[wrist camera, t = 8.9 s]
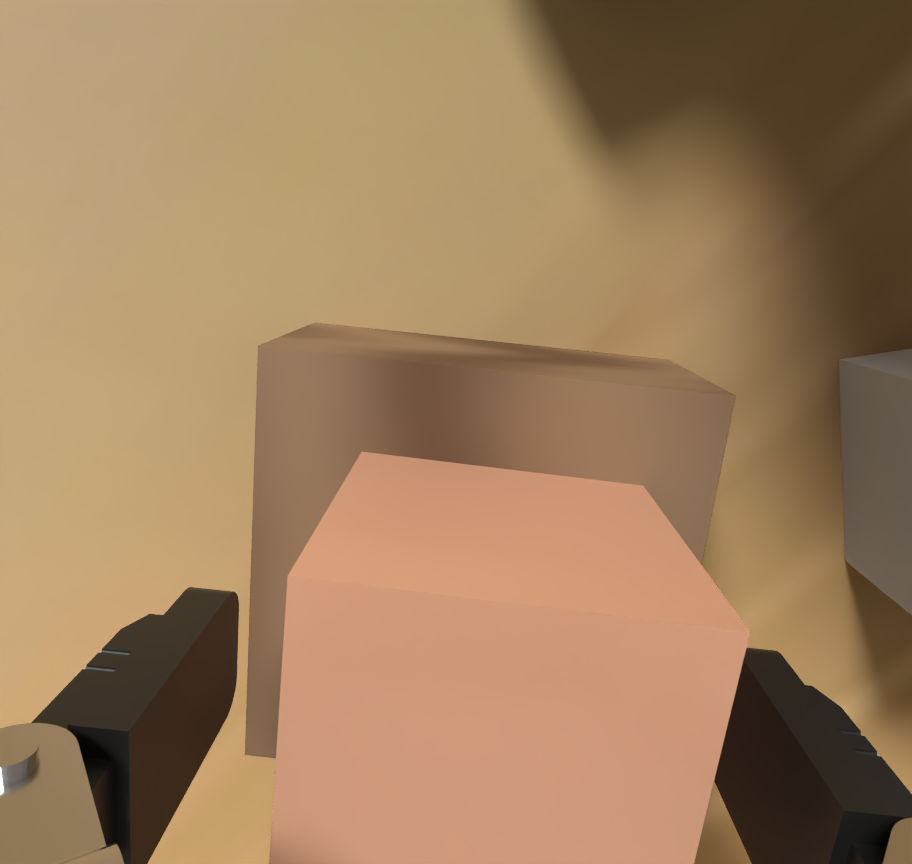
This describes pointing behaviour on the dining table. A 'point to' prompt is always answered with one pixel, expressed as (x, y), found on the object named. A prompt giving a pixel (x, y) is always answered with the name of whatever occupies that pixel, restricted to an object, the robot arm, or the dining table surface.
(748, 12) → the dining table surface
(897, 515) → the slate cube
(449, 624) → the terracotta cube
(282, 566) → the walnut base block
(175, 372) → the dining table surface
